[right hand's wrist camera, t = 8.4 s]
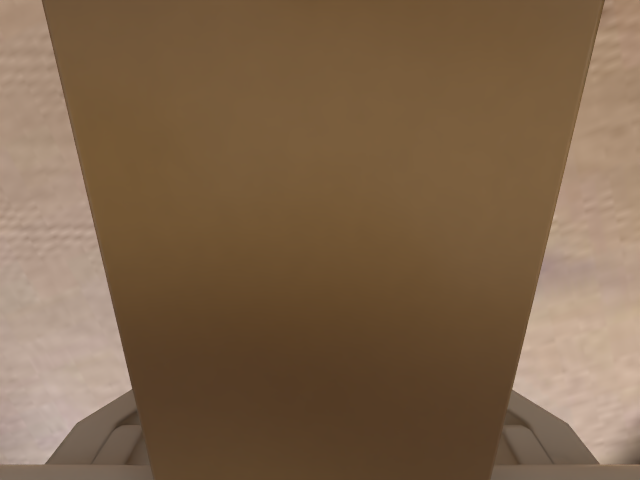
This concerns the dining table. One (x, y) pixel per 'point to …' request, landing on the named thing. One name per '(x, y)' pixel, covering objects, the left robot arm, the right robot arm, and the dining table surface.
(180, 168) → the bar
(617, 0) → the dining table surface
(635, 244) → the dining table surface
